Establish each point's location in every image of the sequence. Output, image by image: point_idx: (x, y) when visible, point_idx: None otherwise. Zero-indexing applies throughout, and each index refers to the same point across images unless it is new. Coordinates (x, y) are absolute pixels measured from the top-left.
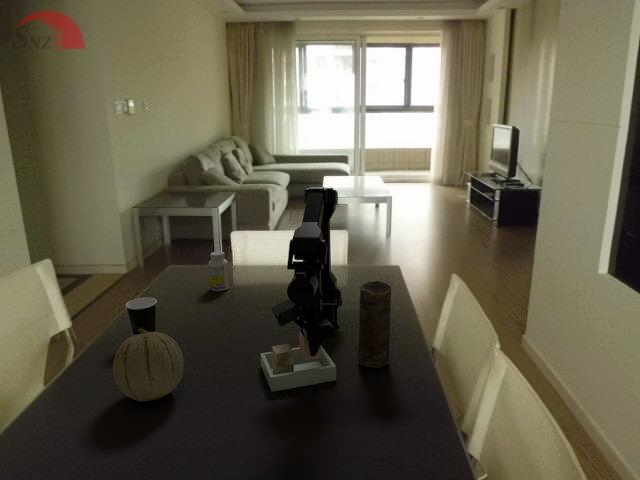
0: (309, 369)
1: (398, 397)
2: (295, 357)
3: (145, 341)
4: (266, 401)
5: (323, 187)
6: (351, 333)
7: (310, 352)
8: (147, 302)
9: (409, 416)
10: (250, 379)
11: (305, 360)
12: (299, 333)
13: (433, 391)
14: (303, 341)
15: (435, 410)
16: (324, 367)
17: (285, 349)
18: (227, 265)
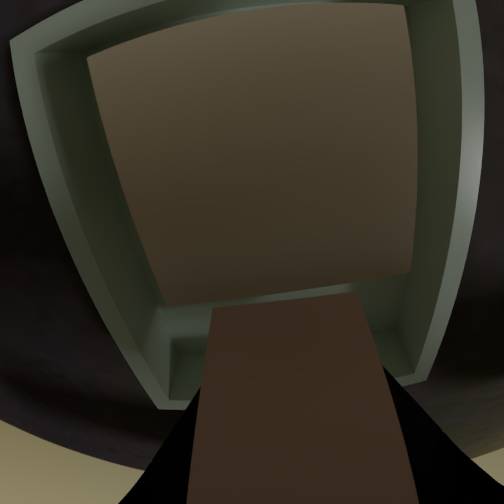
0: (110, 310)
1: (92, 428)
2: (420, 224)
3: None
4: (2, 37)
5: None
6: (480, 399)
7: (194, 398)
8: None
9: (32, 412)
10: None
11: (214, 314)
12: (398, 470)
13: (128, 463)
14: (204, 468)
15: (65, 441)
16: (143, 375)
17: (228, 214)
18: None
